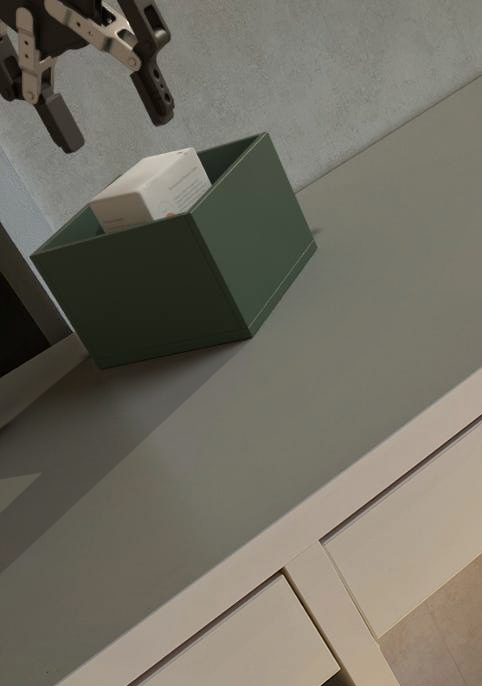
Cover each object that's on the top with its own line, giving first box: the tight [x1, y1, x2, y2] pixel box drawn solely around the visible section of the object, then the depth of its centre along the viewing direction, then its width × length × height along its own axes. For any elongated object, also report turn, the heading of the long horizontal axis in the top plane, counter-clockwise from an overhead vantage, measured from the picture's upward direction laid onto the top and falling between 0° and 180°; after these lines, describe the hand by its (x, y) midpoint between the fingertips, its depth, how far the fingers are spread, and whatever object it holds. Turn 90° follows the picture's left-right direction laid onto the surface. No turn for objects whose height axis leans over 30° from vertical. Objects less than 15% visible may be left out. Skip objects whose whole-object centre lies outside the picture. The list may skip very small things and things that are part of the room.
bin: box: [28, 131, 319, 370], centre depth 85 cm, size 15×15×10 cm
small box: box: [88, 147, 212, 233], centre depth 85 cm, size 8×6×10 cm
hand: (119, 136), depth 79 cm, fingers open, 8 cm apart
